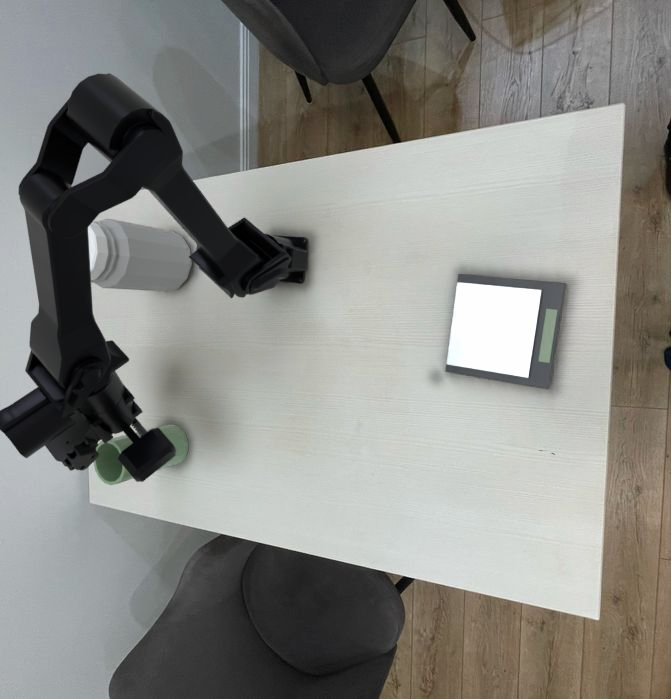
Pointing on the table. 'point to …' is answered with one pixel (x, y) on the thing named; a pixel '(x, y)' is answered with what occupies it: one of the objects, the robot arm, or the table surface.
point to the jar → (137, 256)
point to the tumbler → (108, 461)
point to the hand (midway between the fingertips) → (132, 439)
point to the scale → (505, 329)
